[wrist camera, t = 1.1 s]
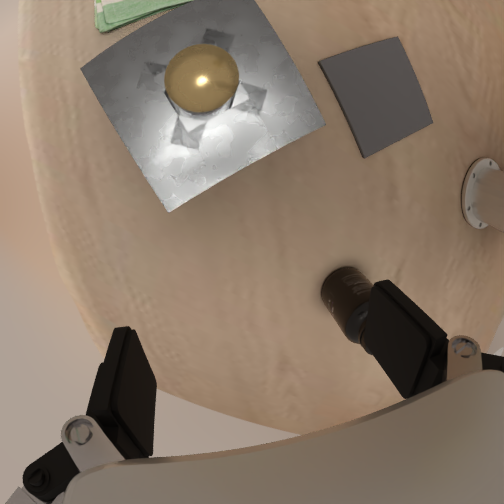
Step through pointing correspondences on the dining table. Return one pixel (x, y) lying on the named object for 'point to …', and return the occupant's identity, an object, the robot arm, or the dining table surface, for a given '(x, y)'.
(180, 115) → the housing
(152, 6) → the dish towel
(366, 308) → the supplement bottle
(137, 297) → the dining table surface
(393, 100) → the mat
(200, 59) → the can with gold end
